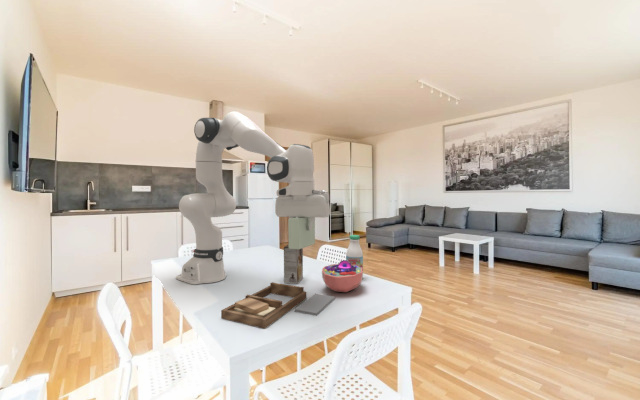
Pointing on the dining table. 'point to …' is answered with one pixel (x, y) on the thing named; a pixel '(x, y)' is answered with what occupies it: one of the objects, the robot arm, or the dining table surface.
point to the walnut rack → (275, 315)
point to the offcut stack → (253, 307)
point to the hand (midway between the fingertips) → (302, 230)
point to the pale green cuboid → (300, 233)
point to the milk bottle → (355, 252)
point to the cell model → (342, 276)
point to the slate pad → (315, 304)
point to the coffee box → (293, 265)
